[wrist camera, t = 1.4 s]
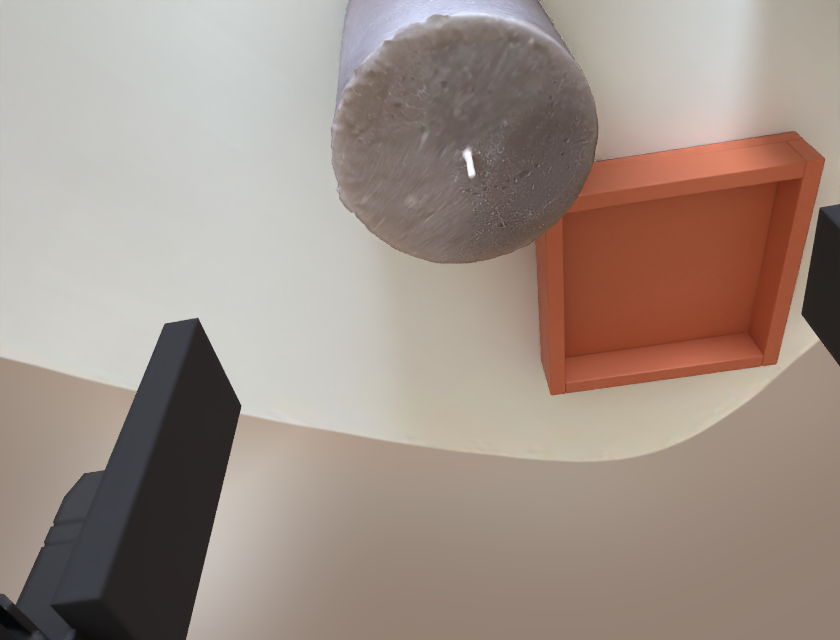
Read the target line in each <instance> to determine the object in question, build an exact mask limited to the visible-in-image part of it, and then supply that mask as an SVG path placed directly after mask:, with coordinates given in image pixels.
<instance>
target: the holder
mask: <svg viewBox="0 0 840 640" xmlns="http://www.w3.org/2000/svg"><path fill="white" fill-rule="evenodd" d="M824 162H825V158H824V157H823V156H822V155H821V154H819V153H818V152H817V151H816V150H815V149H814V148H813V147H812V146H811V145H809V144H808V143H807V142H806V141H805V140H804V139H803V138H802V137H801V136H800V135H799V134H798V133H796V132H788V133H781V134H775V135H768V136H762V137H755V138H749V139H742V140H735V141H729V142H722V143H716V144H709V145H703V146H696V147H690V148H683V149H676V150H670V151H663V152H657V153H650V154H644V155H637V156H631V157H624V158H617V159H611V160H604V161H598V162H593V165H592V168H591V172H590V173H589V175H588V177H587V179H586V181H585V183H584V185H583V188H582V190H581V192H580V193H579V195H578V198H577V199H576V200H575V202H574V203H573V205H572V206H571V207H570V208H569V209H568V211H567V212H566V213H565V215H564V216H563V217H562V218H561V219H559V221H558V222H557V223H556V224H555V225H553V226H552V227H551V228H550V229H548V230H547V231H546V232H544V233H543V234H542V235H541V236H540V237H538V238H537V239H536V255H537V277H538V299H539V321H540V344H541V362H542V365H543V369H544V372H545V376H546V380H547V383H548V387H549V390H550V394H551V395H558V394H565V392H566V393H571V392H578V391H586V390H593V389H600V388H607V387H615V386H622V385H629V384H636V383H644V382H651V381H658V380H665V379H673V378H680V377H687V376H694V375H702V374H709V373H716V372H723V371H731V370H738V369H745V368H752V367H760V366H761V365H762V366H767V365H774V364H777V360H778V356H779V351H780V347H781V343H782V339H783V335H784V330H785V326H786V322H787V318H788V314H789V309H790V305H791V301H792V297H793V292H794V288H795V284H796V280H797V276H798V271H799V267H800V263H801V259H802V255H803V250H804V246H805V242H806V238H807V234H808V229H809V225H810V221H811V217H812V213H813V208H814V204H815V200H816V196H817V191H818V187H819V183H820V179H821V175H822V170H823V166H824Z"/></svg>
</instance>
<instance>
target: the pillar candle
mask: <svg viewBox="0 0 840 640" xmlns="http://www.w3.org/2000/svg"><path fill="white" fill-rule="evenodd" d="M331 134H332V141H331V148H332V165H333V169H334V172H335V176H336V179H337V181H338V188H337V189H335V190H337V191H338V193H339V198H340V200H341V202H342V203H343V204H344V206H345V207H346V208H347V209H348V210H349V211H350V212H351V213H352V212H354V213H355V215H356V217H357V218H358V219H360V221H361V222H362V223H363V224H365V226H366V227H367V229H368V230H369V231H370V232H371V233H373V234H375V235H376V236H377V237H378V238H380V239H381V240H383V241H384V242H386V243H387V244H389V245H390V246H391V247H393V248H395V249H397V250H399V251H401V252H403V253H406V254H409V255H411V256H414V257H417V258H420V259H424V260H427V261H431V262H435V263H453V264H454V263H456V264H457V263H472V262H477V261H483V260H487V259H491V258H495V257H498V256H501V255H505V254H509V253H511V252H513V251H515V250H517V249H519V248H522V247H525V246H527V245H529V244H530V243H531V242H532V241H533V240H535V239H537V238H538V237H540V236H541V235H542V234H543V233H544V232H546V231H547V230H548V229H550V228H551V227H552V226H553V225H555V224H556V223H557V222H558V221H559V219H561V218H562V217H563V216H564V215H565V213H566V212H567V211H568V209H569V208H570V207H571V206H572V205H573V203H574V202H575V200H576V199H577V198H578V195H579V193H580V192H581V190H582V188H583V185H584V183H585V181H586V179H587V177H588V175H589V173H590V172H591V168H592V165H593V160H594V154H595V149H596V145H597V139H598V121H597V114H596V108H595V102H594V98H593V95H592V93H591V90H590V87H589V85H588V82H587V80H586V78H585V76H584V74H583V72H582V70H581V69H580V67H579V66H578V64H577V63H576V61H575V59H574V57H573V56H572V54H571V53H570V51H569V49H568V48H567V46H566V45H565V43H564V42H563V40H562V39H561V37H560V35H559V34H558V32H557V31H556V29H555V27H554V26H553V24H552V22H551V21H550V19H549V17H548V16H547V14H546V13H545V11H544V10H543V8H542V6H541V5H540V3H539V1H538V0H350V1H349V4H348V7H347V11H346V15H345V23H344V29H343V38H342V47H341V55H340V68H339V79H338V89H337V99H336V109H335V115H334V121H333V125H332V126H331Z"/></svg>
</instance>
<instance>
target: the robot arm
mask: <svg viewBox="0 0 840 640" xmlns="http://www.w3.org/2000/svg"><path fill="white" fill-rule="evenodd" d="M802 316H803V317H804V318H805V320H806V321H807V323H808V324H809V325H810V327H811V328H812V329H813V331H814V332H815V333H816V335H817V336H818V337H819V339H820V340H821V341H822V343H823V344H824V345H825V347H826V348H827V350H828V351H829V352H830V354H831V355H832V356H833V358H834V359H835V360H836V362H837V363H838V364H839V366H840V204H839V205H833V206H827V207H822V208H820V210H819V215H818V221H817V227H816V233H815V239H814V244H813V250H812V256H811V262H810V267H809V273H808V279H807V285H806V291H805V296H804V302H803V308H802ZM240 410H241V404H240V402H239V400H238V398H237V396H236V394H235V392H234V390H233V388H232V386H231V384H230V382H229V380H228V378H227V376H226V374H225V372H224V370H223V368H222V366H221V363H220V361H219V359H218V357H217V355H216V353H215V351H214V349H213V347H212V345H211V343H210V341H209V339H208V337H207V335H206V333H205V331H204V329H203V327H202V325H201V323H200V321H199V319H198V318H195V319H189V320H183V321H178V322H172V323H166V324H165V325H164V327H163V329H162V332H161V334H160V337H159V339H158V342H157V344H156V347H155V349H154V351H153V354H152V356H151V359H150V361H149V364H148V366H147V369H146V371H145V373H144V376H143V378H142V381H141V383H140V386H139V388H138V390H137V393H136V395H135V398H134V400H133V403H132V405H131V408H130V410H129V413H128V415H127V417H126V420H125V422H124V425H123V428H122V430H121V432H120V434H119V437H118V439H117V442H116V444H115V447H114V449H113V452H112V454H111V456H110V459H109V461H108V464H107V466H106V469H105V470H103V471H97V472H90V473H84V474H83V476H82V477H81V478H80V479H79V480H78V481H77V483H76V484H75V485H74V486H73V487H72V489H71V490H70V491H69V492H68V493H67V494H66V496H65V497H64V499H63V501H62V504H61V506H60V508H59V510H58V512H57V514H56V516H55V519H54V521H53V523H54V526H53V527H51V528H50V530H49V532H48V534H47V537H46V539H45V541H44V543H45V546H44V547H42V548H41V550H40V552H39V554H38V557H37V559H36V561H35V563H34V565H33V568H32V570H31V572H30V574H29V577H28V579H27V581H26V583H25V585H24V588H23V590H22V592H21V594H20V597H19V599H18V601H17V603H16V605H15V604H14V603H13V602H12V601H11V600H9V598H8V597H6V596H5V595H4V594H0V640H186V637H187V633H188V628H189V624H190V620H191V616H192V612H193V607H194V603H195V599H196V595H197V590H198V586H199V582H200V578H201V574H202V569H203V565H204V561H205V557H206V553H207V548H208V544H209V540H210V536H211V532H212V527H213V523H214V518H215V515H216V510H217V506H218V502H219V498H220V493H221V489H222V485H223V481H224V477H225V473H226V469H227V464H228V460H229V456H230V452H231V447H232V443H233V439H234V435H235V431H236V426H237V422H238V417H239V414H240Z"/></svg>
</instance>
